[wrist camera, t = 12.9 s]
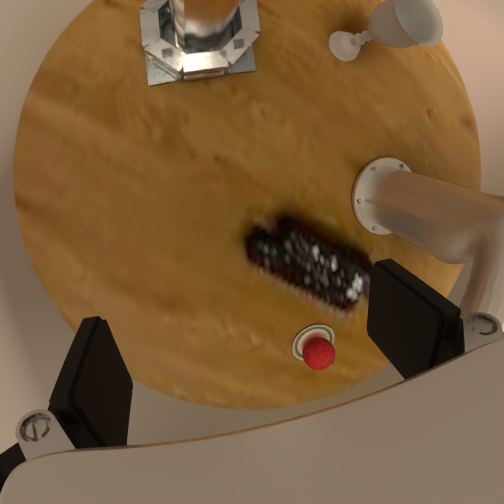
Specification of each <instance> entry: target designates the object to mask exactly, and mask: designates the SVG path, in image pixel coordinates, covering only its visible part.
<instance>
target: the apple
mask: <svg viewBox="0 0 504 504" xmlns="http://www.w3.org/2000/svg"><path fill="white" fill-rule="evenodd" d="M333 343H334V333H333V331H332V330H331V329H330V328H329V327H328V326H325V325H313V326H310V327H308V328H306V329H304V330H303V331H301V332H300V333H299V334H298V335H297V337H296V338H295V340H294V342H293V353H294V355H295V356H296V357H297V358H299V359H301V360H304V361H305V363H306V364H307V365H308V366H309V367H310V368H312V369H314V370H323V369H326V368H328V367H329V366H330V365H331V364H333V360H334V358H335V349H334V347H333Z"/></svg>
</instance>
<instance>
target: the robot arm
mask: <svg viewBox="0 0 504 504" xmlns="http://www.w3.org/2000/svg"><path fill="white" fill-rule="evenodd" d="M357 199H358V200H357ZM352 205H353V211H354V213H355V216H356V218H357V220H358V221H359V223H360V224H361V225H362V226H363V227H364V228H366V229H367V230H368V231H370V232H372V233H375V234H379V235H386V234H391V233H394V234H396V235H398V236H399V237H401V238H403V239H405V240H406V241H408V242H410V243H411V244H413V245H415V246H417V247H418V248H420V249H422V250H423V251H425V252H427V253H428V254H430V255H432V256H434V257H435V258H437V259H439V260H440V261H443V262H445V263H449V264H462V263H467V262H470V261H473V265H472V268H471V272H470V277H469V281H468V284H467V287H466V290H465V293H464V296H463V299H462V302H461V304H460V307H459V308H458V307H457V306H455V305H454V304H453V303H452V302H450V301H449V300H448V299H446V298H445V297H444V296H442V295H441V294H440V293H438V292H437V291H435V290H434V289H433V288H431V287H430V286H429V285H427V284H426V283H425V282H423V281H422V280H420V279H419V278H418V277H416V276H415V275H413V274H412V273H411V272H409V271H408V270H406V269H405V268H404V267H402V266H401V265H399V264H398V263H396V262H395V261H394V260H392V259H385V260H381V261H377V262H375V264H374V266H373V267H372V268H371V271H370V290H369V306H368V319H367V332H368V335H369V337H370V338H371V339H372V340H373V342H374V343H375V344H376V345H377V346H378V347H379V349H380V350H381V351H382V352H383V353H384V355H385V356H386V357H387V358H388V359H389V361H390V362H391V363H392V364H393V365H394V367H395V368H396V369H397V370H398V372H399V373H400V374H401V375H402V376H403V378H404V379H405V380H403V381H401V382H399V383H396V384H394V385H391V386H388V387H386V388H383V389H381V390H378V391H375V392H373V393H370V394H367V395H365V396H362V397H359V398H356V399H353V400H350V401H347V402H344V403H341V404H338V405H335V406H332V407H329V408H325V409H322V410H319V411H316V412H312V413H309V414H305V415H302V416H298V417H294V418H291V419H287V420H283V421H279V422H275V423H271V424H266V425H262V426H258V427H254V428H248V429H244V430H239V431H234V432H229V433H223V434H217V435H212V436H206V437H199V438H192V439H186V440H178V441H170V442H160V443H151V444H140V445H127V435H128V425H129V415H130V406H131V398H132V389H133V383H132V379H131V377H130V374H129V372H128V370H127V368H126V366H125V363H124V361H123V359H122V357H121V354H120V352H119V350H118V347H117V345H116V343H115V340H114V338H113V335H112V333H111V330H110V328H109V325H108V323H107V321H106V320H105V319H104V320H102V319H101V318H100V317H99V316H96V317H90V318H84V319H83V320H82V322H81V325H80V327H79V329H78V331H77V333H76V336H75V338H74V340H73V342H72V345H71V347H70V349H69V352H68V354H67V357H66V359H65V361H64V364H63V366H62V369H61V371H60V374H59V376H58V379H57V382H56V384H55V387H54V390H53V392H52V395H51V398H50V400H49V402H50V405H49V407H48V410H44V409H38V410H33V411H31V412H29V413H27V414H26V415H25V416H23V417H22V419H21V420H20V421H19V422H18V425H17V427H16V438H17V440H18V443H16V444H15V445H13V446H12V447H10V448H9V449H7V450H6V451H5V452H3V453H2V454H0V504H504V197H503V196H497V195H492V194H487V193H483V192H480V191H476V190H472V189H469V188H465V187H462V186H459V185H455V184H452V183H449V182H445V181H442V180H438V179H435V178H431V177H427V176H424V175H420V174H416V173H412V171H411V170H410V168H409V167H408V166H407V165H406V164H405V163H404V162H402V161H400V160H398V159H395V158H390V157H381V158H378V159H375V160H373V161H371V162H370V163H368V164H367V165H366V166H365V167H364V168H363V169H362V170H361V172H360V173H359V175H358V177H357V179H356V181H355V184H354V187H353V192H352Z"/></svg>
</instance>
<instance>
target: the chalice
mask: <svg viewBox="0 0 504 504" xmlns="http://www.w3.org/2000/svg"><path fill="white" fill-rule="evenodd" d="M442 34H443V22H442V18H441V16H440V12H439V10H438V8H437V7H436V5H435V3H434V2H433V1H432V0H386V1H384V2H382V3H380V4H378V5H377V7H376V8H375V10H374V11H373V13H372V15H371V17H370V20H369V23H368V27H367V31H366V30H364V31H363V32H362V34H361V33H357V34H355V35H354V34H352V33H349V32H343V31H337V32H335V33H333V34H332V35H331V36H330V38H329V48H330V50H331V52H332V53H333V55H334V56H335V57H337V58H338V59H340V60H342V61H352V60H354V59H355V58H356V57H357V55H358V53H359V51H360V48H361V47H360V45H363V44H364V43H365V41H371V39H373V40H374V41H376V42H379V43H381V44H383V45H386V46H390V47H395V48H406V47H410V46H414V45H418V44H422V45H425V46H434V45H435V44H437V43H438V42H439V41H440V39H441V37H442Z"/></svg>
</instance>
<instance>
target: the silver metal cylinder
mask: <svg viewBox="0 0 504 504" xmlns="http://www.w3.org/2000/svg"><path fill="white" fill-rule="evenodd" d="M240 1H241V0H169V3H170V11H171V20H172V28H173V36H174V42H175V44H176V47H177V48H178V49H179V50H180V51H182V52H183V53H185V54H186V55H189V54H196V53H204V52H212V51H216V50H217V49H218V48H219V47H220V46H221V44H222V42H223V40H224V38H225V35H226V33H227V30H228V28H229V26H230V23H231V21H232V19H233V16H234V14H235V12H236V10H237V7H238V5H239V3H240Z"/></svg>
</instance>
